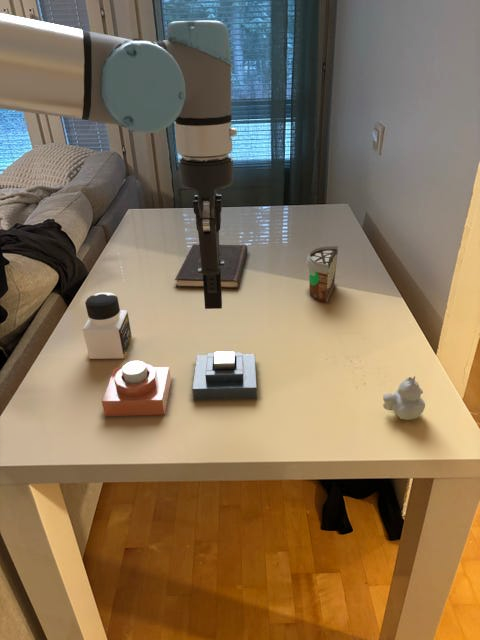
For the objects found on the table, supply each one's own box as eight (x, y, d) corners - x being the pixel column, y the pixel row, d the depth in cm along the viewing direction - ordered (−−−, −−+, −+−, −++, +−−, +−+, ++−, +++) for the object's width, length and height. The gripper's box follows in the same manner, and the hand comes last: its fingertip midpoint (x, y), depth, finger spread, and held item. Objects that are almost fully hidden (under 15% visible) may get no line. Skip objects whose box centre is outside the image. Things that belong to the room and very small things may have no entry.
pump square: (214, 371, 81) (213, 363, 81) (215, 359, 85) (214, 351, 84) (234, 371, 81) (234, 363, 81) (234, 359, 85) (234, 351, 84)
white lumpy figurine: (426, 427, 73) (435, 387, 69) (383, 424, 74) (390, 385, 70) (418, 404, 78) (426, 365, 74) (378, 402, 79) (384, 364, 75)
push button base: (193, 399, 81) (191, 381, 79) (197, 365, 89) (196, 348, 87) (256, 398, 80) (256, 380, 78) (254, 363, 89) (254, 346, 87)
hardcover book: (175, 287, 118) (174, 279, 116) (193, 251, 137) (193, 244, 136) (238, 289, 116) (238, 280, 115) (247, 252, 135) (247, 245, 134)
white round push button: (121, 384, 78) (119, 374, 76) (126, 370, 81) (124, 360, 80) (145, 384, 77) (143, 374, 76) (149, 369, 81) (147, 359, 80)
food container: (311, 279, 119) (313, 242, 114) (335, 282, 117) (338, 245, 112) (299, 301, 109) (300, 262, 104) (325, 305, 107) (327, 265, 102)
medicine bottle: (125, 359, 92) (114, 306, 85) (89, 359, 92) (76, 306, 86) (132, 339, 98) (123, 288, 92) (99, 339, 98) (87, 288, 92)
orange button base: (104, 416, 78) (99, 392, 75) (116, 382, 85) (112, 360, 83) (164, 414, 78) (161, 391, 75) (171, 380, 85) (168, 358, 83)
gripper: (232, 165, 58) (236, 327, 70) (233, 145, 69) (236, 287, 81) (172, 166, 58) (186, 328, 70) (182, 146, 69) (193, 288, 81)
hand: (213, 306), depth 75 cm, fingers closed
